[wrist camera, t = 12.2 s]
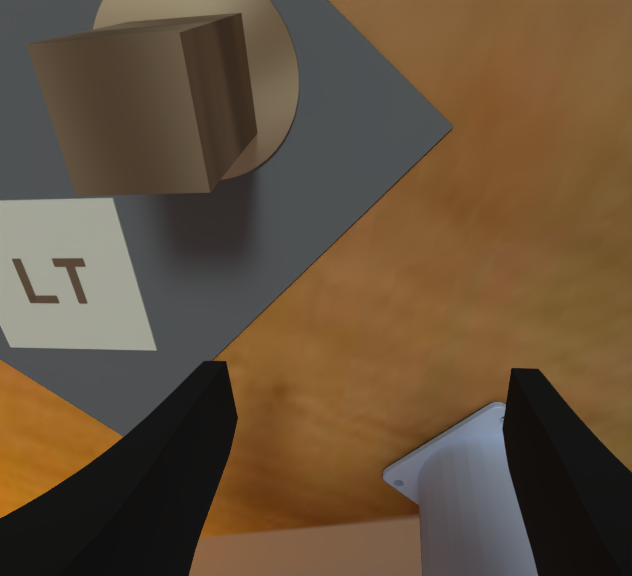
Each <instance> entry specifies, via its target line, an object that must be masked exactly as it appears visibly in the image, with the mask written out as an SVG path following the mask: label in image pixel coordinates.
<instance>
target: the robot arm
mask: <svg viewBox="0 0 632 576" xmlns="http://www.w3.org/2000/svg"><path fill="white" fill-rule="evenodd" d="M501 417H504V418H501ZM237 419H238V417H237V412H236V407H235V402H234V398H233V393H232V388H231V383H230V378H229V373H228V369H227V364H226V361H203V362H202V363H201V364H200V365H199V366H198V367H197V368H196V369H195V370H194V371H193V372H192V373H191V374H190V375H189V376H188V377H187V378H186V379H185V380H184V381H183V382H182V383H181V384H180V385H179V386H178V387H177V388H176V389H175V390H174V391H173V392H172V393H171V394H170V395H169V396H168V397H167V398H166V399H165V400H164V401H163V402H162V403H161V404H160V405H158V406H157V407H156V408H155V409H154V410H153V411H152V412H151V413H150V414H149V415H148V416H147V417H146V418H145V419H144V420H142V421H141V422H140V423H139V424H138V425H137V426H136V427H134V428H133V429H132V430H131V431H130V432H129V433H128V434H126V435H125V436H124V437H123V438H122V439H121V440H119V441H118V442H117V443H116V444H115V445H113V446H112V447H111V448H109V449H108V450H107V451H106V452H104V453H103V454H102V455H100V456H99V457H98V458H96V459H95V460H94V461H92V462H91V463H90V464H88V465H87V466H85V467H84V468H83V469H81V470H80V471H78V472H77V473H75V474H74V475H72V476H70V477H69V478H67V479H66V480H64V481H63V482H61V483H60V484H58V485H57V486H55V487H54V488H52V489H51V490H49V491H48V492H46V493H44V494H43V495H41V496H39V497H38V498H36V499H34V500H32V501H31V502H29V503H27V504H26V505H24V506H22V507H20V508H18V509H17V510H15V511H13V512H11V513H9V514H8V515H6V516H4V517H2V518H0V576H189V572H190V568H191V564H192V560H193V557H194V553H195V549H196V546H197V543H198V540H199V537H200V534H201V531H202V528H203V525H204V522H205V520H206V517H207V514H208V512H209V509H210V506H211V504H212V501H213V498H214V495H215V493H216V490H217V487H218V485H219V482H220V479H221V476H222V474H223V471H224V468H225V465H226V463H227V460H228V457H229V454H230V450H231V446H232V442H233V438H234V433H235V429H236V424H237ZM383 480H384V481H385V482H386V483H388V484H389V485H391V486H392V487H393V488H395V489H396V490H398V491H399V492H400V493H402V494H403V495H405V496H406V497H408V498H409V499H410V500H412V501H413V502H415V503H416V504H417V505H419V517H420V538H421V559H422V576H632V472H631V471H630V470H629V469H628V468H626V467H625V466H624V465H623V464H622V463H621V462H620V461H619V460H618V459H617V458H616V457H615V456H614V455H613V454H612V453H611V452H610V451H609V450H608V449H607V448H606V446H605V445H604V444H603V443H602V442H601V441H600V440H599V439H598V438H597V437H596V436H595V435H594V434H593V433H592V431H591V430H590V429H589V428H588V427H587V426H586V425H585V424H584V423H583V421H582V420H581V419H580V418H579V417H578V416H577V415H576V414H575V412H574V411H573V410H572V409H571V408H570V407H569V405H568V404H567V403H566V402H565V401H564V399H563V398H562V397H561V396H560V395H559V393H558V392H557V391H556V390H555V388H554V387H553V386H552V385H551V383H550V382H549V381H548V380H547V378H546V377H545V376H544V375H543V373H542V372H541V371H540V370H539V369H524V368H512V369H511V376H510V382H509V389H508V395H507V402H506V404H504V403H502V402H493V403H491V404H489V405H487V406H486V407H484V408H482V409H481V410H479V411H477V412H476V413H474V414H473V415H471V416H469V417H468V418H466V419H465V420H463V421H461V422H460V423H458V424H456V425H455V426H453V427H452V428H450V429H448V430H447V431H445V432H444V433H442V434H440V435H439V436H437V437H435V438H434V439H432V440H431V441H429V442H427V443H426V444H424V445H423V446H421V447H419V448H418V449H416V450H415V451H413V452H411V453H410V454H408V455H406V456H405V457H403V458H402V459H400V460H398V461H397V462H395V463H394V464H392V465H390V466H389V467H387V468H385V469H384V470H383Z"/></svg>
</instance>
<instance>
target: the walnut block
mask: <svg viewBox="0 0 632 576" xmlns="http://www.w3.org/2000/svg"><path fill="white" fill-rule="evenodd" d="M26 45H27V48H28V51H29V54H30V57H31V60H32V63H33V66H34V69H35V72H36V75H37V78H38V81H39V84H40V87H41V90H42V94H43V97H44V100H45V103H46V106H47V109H48V112H49V115H50V118H51V121H52V124H53V127H54V130H55V133H56V136H57V139H58V142H59V145H60V148H61V151H62V154H63V157H64V160H65V163H66V166H67V169H68V172H69V175H70V178H71V181H72V184H73V187H74V190H75V193H76V196H105V195H140V194H175V193H210V192H211V191H212V190H213V188H214V187H215V186H216V185H217V183H218V182H219V181H220V180H221V178H222V177H223V176H224V175H225V173H226V172H227V171H228V170H229V168H230V167H231V166H232V165H233V163H234V162H235V161H236V160H237V158H238V157H239V156H240V155H241V153H242V152H243V151H244V150H245V148H246V147H247V146H248V145H249V143H250V142H251V141H252V140H253V138H254V137H255V136H256V135H257V125H256V118H255V110H254V103H253V95H252V88H251V80H250V73H249V65H248V58H247V50H246V43H245V35H244V28H243V20H242V13H231V14H219V15H206V16H194V17H181V18H169V19H156V20H144V21H131V22H125V23H121V24H116V25H112V26H107V27H102V28H98V29H93V30H89V31H84V32H79V33H75V34H70V35H66V36H61V37H57V38H52V39H47V40H43V41H38V42H34V43H29V44H26Z"/></svg>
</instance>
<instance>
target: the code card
mask: <svg viewBox="0 0 632 576" xmlns="http://www.w3.org/2000/svg"><path fill="white" fill-rule="evenodd" d="M0 326H1V328H2V330H3V333H4V335H5V337H6V339H7V341H8V343H9V345H10V347H12V348H59V349H106V350H153V351H157V347H156V343H155V340H154V336H153V333H152V330H151V326H150V323H149V319H148V316H147V312H146V309H145V305H144V302H143V298H142V295H141V292H140V288H139V285H138V281H137V278H136V274H135V271H134V267H133V264H132V260H131V257H130V254H129V250H128V247H127V243H126V240H125V236H124V233H123V229H122V226H121V222H120V219H119V216H118V212H117V209H116V205H115V202H114V198H85V199H43V200H0Z"/></svg>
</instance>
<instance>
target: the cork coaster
mask: <svg viewBox="0 0 632 576" xmlns="http://www.w3.org/2000/svg"><path fill="white" fill-rule="evenodd" d="M231 13H242V20H243V28H244V35H245V43H246V50H247V58H248V65H249V73H250V80H251V88H252V95H253V103H254V110H255V118H256V125H257V135H256V136H255V137H254V138H253V140H252V141H251V142H250V143H249V145H248V146H247V147H246V148H245V150H244V151H243V152H242V153H241V155H240V156H239V157H238V158H237V160H236V161H235V162H234V163H233V165H232V166H231V167H230V168H229V170H228V171H227V172H226V173H225V175H224V176H223V177H222V178H221V180H224V179H229V178H233V177H237V176H239V175H242V174H244V173H247V172H249V171H251V170H252V169H254V168H256V167H258V166H259V165H260V164H262V163H263V162H264V161H266V160H267V159H268V158H269V157H270V156H271V155H272V154H273V153H274V152H275V151H276V149H277V148H278V147H279V145H280V144H281V143H282V141H283V140H284V138H285V136H286V134H287V132H288V131H289V129H290V127H291V124H292V121H293V119H294V116H295V112H296V108H297V103H298V96H299V68H298V61H297V56H296V52H295V48H294V45H293V41H292V39H291V36H290V34H289V31H288V29H287V26H286V24H285V23H284V21H283V19H282V17H281V15H280V13H279V12H278V10H277V9H276V7H275V6H274V5H273V3H272V2H271V0H103V1H102V3H101V5H100V8H99V10H98V12H97V15H96V19H95V22H94V26H93V29H98V28H102V27H107V26H112V25H116V24H121V23H125V22H131V21H144V20H156V19H169V18H181V17H194V16H206V15H219V14H231Z"/></svg>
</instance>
